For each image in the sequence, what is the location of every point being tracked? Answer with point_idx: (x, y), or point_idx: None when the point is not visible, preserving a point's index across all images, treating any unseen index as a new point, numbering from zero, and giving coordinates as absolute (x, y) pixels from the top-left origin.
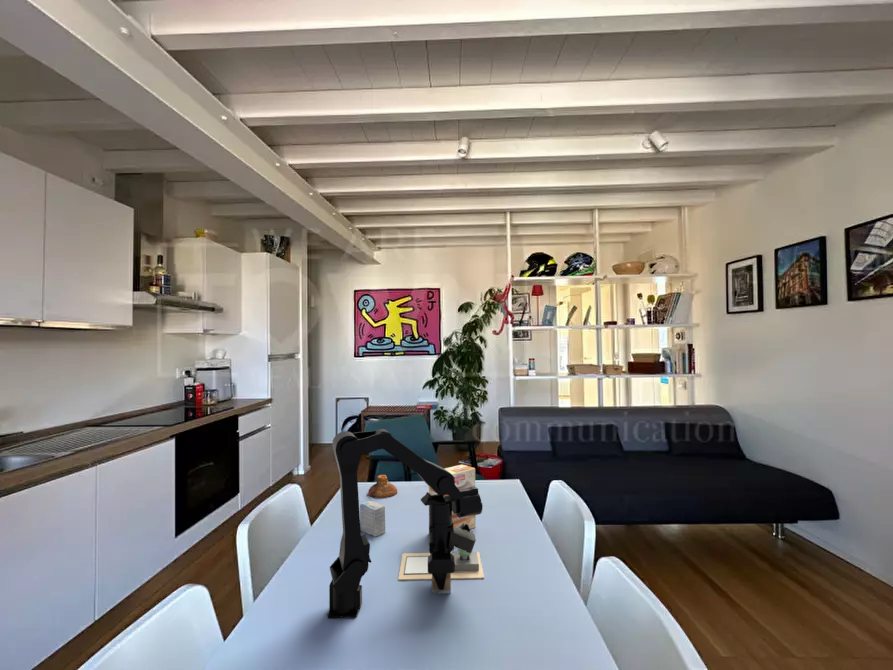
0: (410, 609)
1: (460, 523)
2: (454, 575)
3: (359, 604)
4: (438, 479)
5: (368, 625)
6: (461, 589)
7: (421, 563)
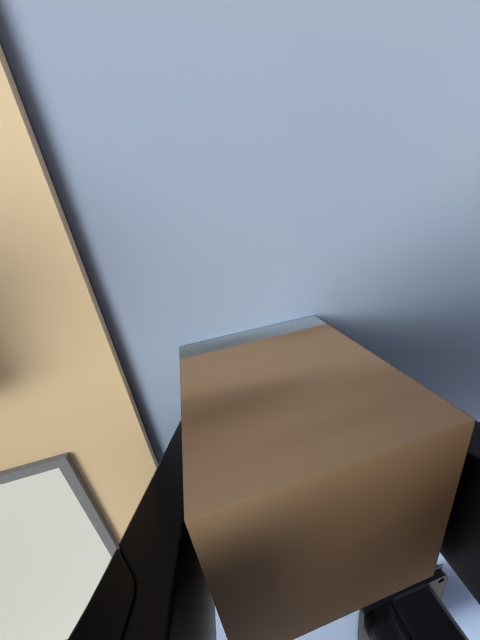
0: None
1: None
2: (52, 339)
3: (443, 608)
4: None
5: None
6: (260, 240)
7: None
